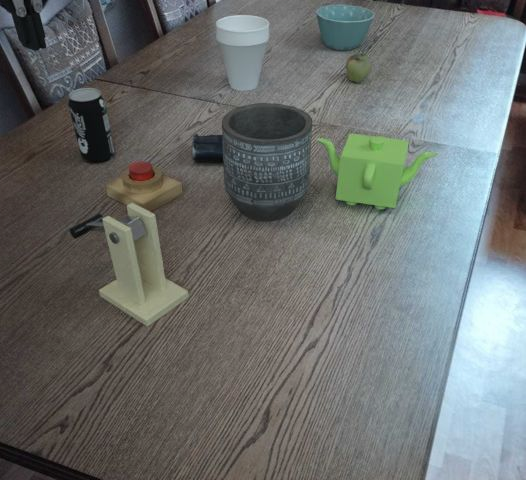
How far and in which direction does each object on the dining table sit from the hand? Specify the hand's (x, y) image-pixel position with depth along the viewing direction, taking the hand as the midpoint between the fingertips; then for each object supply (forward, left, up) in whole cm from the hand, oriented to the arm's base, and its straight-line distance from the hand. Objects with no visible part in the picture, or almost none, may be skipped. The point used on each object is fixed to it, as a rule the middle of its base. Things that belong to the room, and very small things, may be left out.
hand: (34, 47), depth 72 cm
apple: (0, +84, -27) cm, 88 cm away
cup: (-19, +63, -27) cm, 71 cm away
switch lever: (+18, -6, -19) cm, 26 cm away
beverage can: (-17, +17, -27) cm, 36 cm away
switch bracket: (+22, -6, -27) cm, 35 cm away
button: (+1, +13, -24) cm, 27 cm away
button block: (+1, +13, -27) cm, 30 cm away
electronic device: (+3, +34, -27) cm, 44 cm away
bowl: (-17, +103, -27) cm, 108 cm away
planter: (+20, +24, -27) cm, 41 cm away
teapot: (+32, +38, -27) cm, 57 cm away
